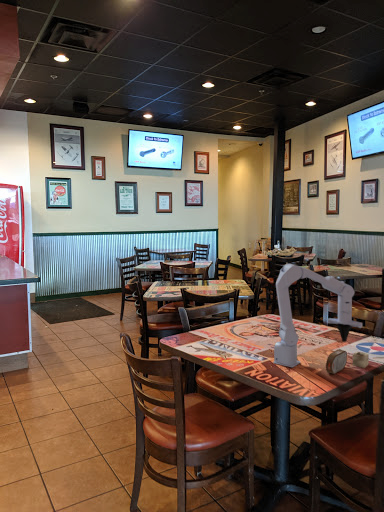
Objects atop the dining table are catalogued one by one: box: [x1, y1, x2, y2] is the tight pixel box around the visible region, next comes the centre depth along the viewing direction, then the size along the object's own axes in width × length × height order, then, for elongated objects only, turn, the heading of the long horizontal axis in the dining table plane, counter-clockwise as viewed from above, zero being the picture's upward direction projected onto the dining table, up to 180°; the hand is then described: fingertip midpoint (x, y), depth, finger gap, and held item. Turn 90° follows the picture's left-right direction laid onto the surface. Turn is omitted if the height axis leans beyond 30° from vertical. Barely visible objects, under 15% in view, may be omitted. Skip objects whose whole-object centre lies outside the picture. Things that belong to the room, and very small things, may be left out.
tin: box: [325, 348, 348, 375], centre depth 162 cm, size 15×3×8 cm, turn 135°
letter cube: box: [352, 351, 370, 369], centre depth 168 cm, size 5×5×5 cm
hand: (344, 341), depth 172 cm, fingers closed
